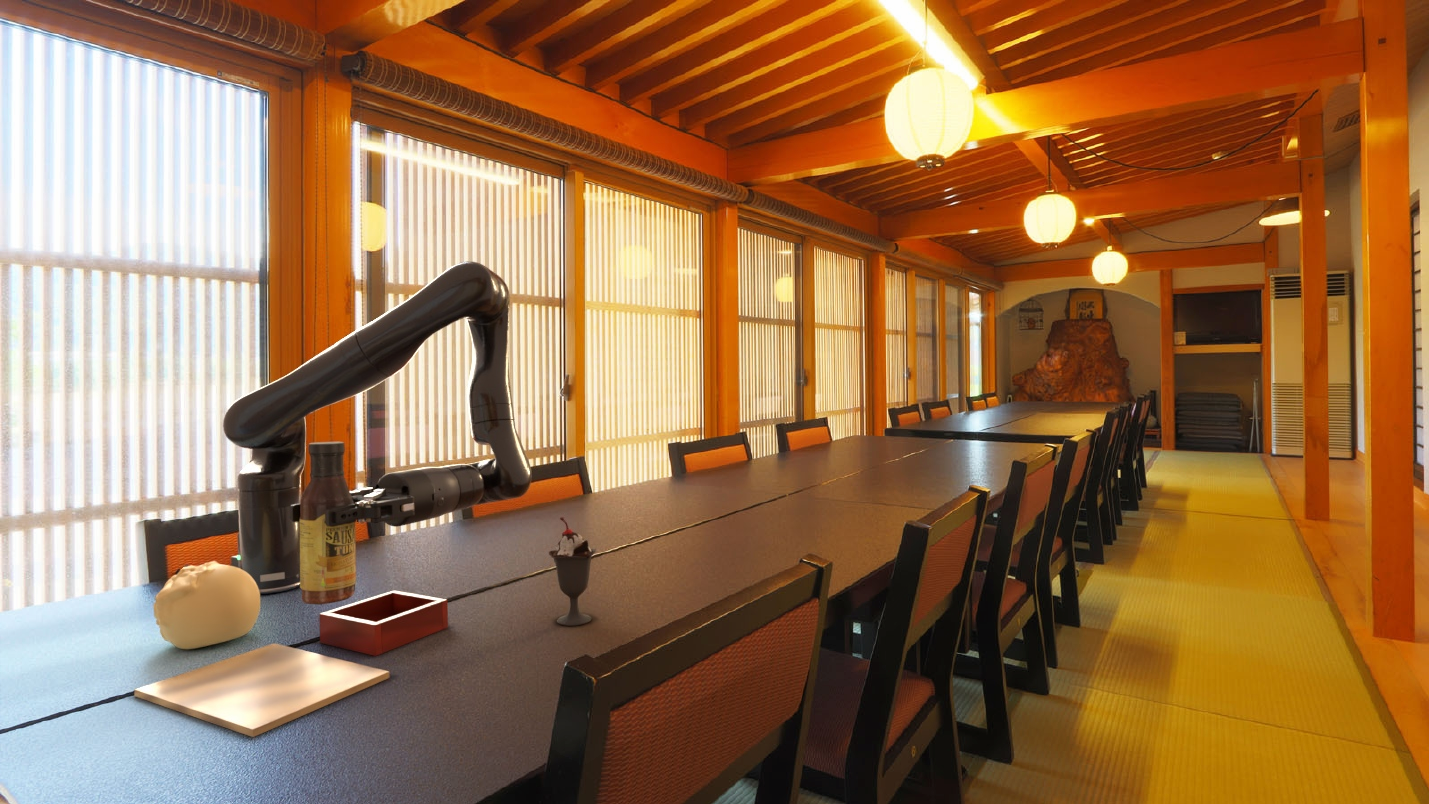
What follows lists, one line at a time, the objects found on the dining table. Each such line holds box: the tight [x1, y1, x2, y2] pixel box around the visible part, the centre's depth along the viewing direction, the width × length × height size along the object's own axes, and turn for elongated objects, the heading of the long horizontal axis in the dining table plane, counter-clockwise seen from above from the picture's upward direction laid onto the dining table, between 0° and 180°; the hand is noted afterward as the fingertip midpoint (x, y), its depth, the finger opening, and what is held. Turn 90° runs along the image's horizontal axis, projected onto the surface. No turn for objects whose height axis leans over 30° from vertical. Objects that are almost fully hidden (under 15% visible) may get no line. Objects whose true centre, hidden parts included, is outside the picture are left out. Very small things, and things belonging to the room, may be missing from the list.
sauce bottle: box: [299, 441, 357, 606], centre depth 93 cm, size 6×6×20 cm
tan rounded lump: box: [152, 560, 262, 650], centre depth 100 cm, size 11×12×11 cm
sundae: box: [548, 516, 597, 627], centre depth 107 cm, size 7×7×15 cm
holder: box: [318, 590, 449, 657], centre depth 102 cm, size 11×12×4 cm
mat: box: [133, 642, 390, 738], centre depth 85 cm, size 22×16×1 cm
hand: (309, 516), depth 90 cm, fingers closed on sauce bottle, 6 cm apart
